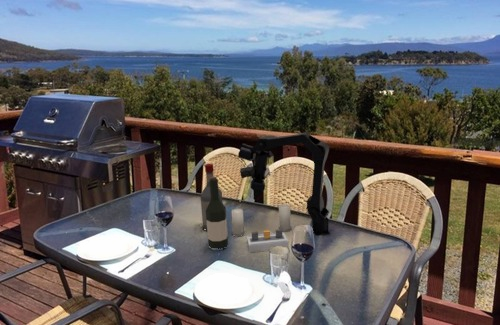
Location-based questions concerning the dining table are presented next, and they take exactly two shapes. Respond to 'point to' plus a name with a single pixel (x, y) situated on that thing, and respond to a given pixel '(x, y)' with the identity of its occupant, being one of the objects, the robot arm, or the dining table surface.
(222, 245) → the wine bottle
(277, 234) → the paddle
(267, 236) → the block
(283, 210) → the post
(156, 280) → the dining table surface
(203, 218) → the liquor
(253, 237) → the paddle
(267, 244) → the box
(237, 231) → the post
